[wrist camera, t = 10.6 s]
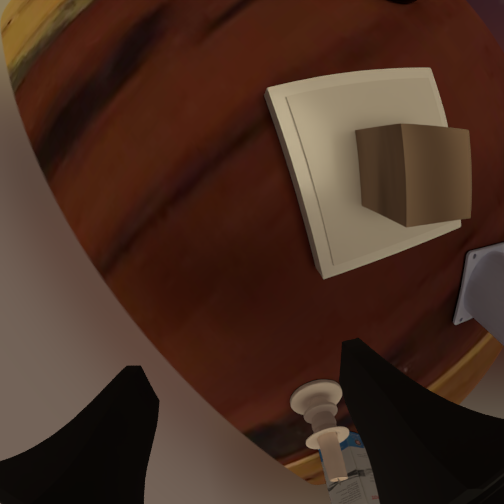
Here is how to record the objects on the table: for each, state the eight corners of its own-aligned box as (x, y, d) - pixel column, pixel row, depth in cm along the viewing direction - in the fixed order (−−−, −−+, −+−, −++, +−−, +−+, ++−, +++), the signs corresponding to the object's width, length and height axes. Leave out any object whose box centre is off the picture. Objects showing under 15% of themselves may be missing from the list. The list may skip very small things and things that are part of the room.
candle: (311, 416, 25) (331, 498, 15) (278, 400, 24) (293, 493, 14) (350, 390, 24) (383, 473, 14) (320, 371, 23) (353, 468, 13)
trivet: (415, 73, 14) (432, 67, 12) (445, 220, 18) (463, 227, 16) (264, 95, 15) (267, 86, 13) (315, 267, 19) (324, 281, 17)
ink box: (315, 447, 28) (333, 522, 17) (345, 428, 27) (370, 507, 15) (352, 455, 30) (372, 517, 19) (379, 438, 29) (404, 501, 18)
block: (415, 131, 14) (468, 130, 9) (420, 199, 15) (470, 218, 11) (354, 130, 14) (400, 123, 9) (361, 205, 15) (406, 227, 11)
